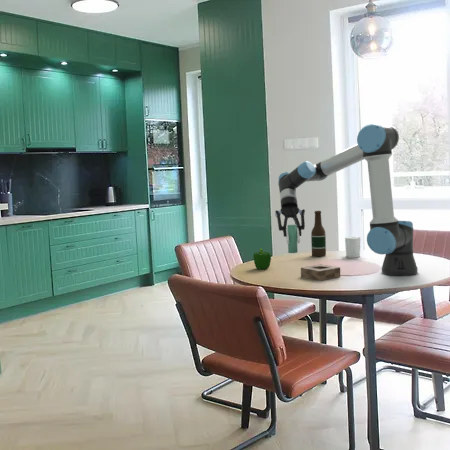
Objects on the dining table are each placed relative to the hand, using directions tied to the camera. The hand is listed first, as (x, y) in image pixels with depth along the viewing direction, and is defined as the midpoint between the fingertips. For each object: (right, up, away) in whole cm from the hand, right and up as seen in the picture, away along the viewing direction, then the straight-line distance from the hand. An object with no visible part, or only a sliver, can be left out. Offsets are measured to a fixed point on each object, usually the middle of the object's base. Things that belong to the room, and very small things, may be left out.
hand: (293, 241), depth 253 cm
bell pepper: (-12, -14, +27) cm, 33 cm away
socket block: (+12, -15, +2) cm, 20 cm away
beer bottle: (+20, -10, +58) cm, 62 cm away
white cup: (+37, -10, +51) cm, 64 cm away
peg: (0, -5, +4) cm, 6 cm away
